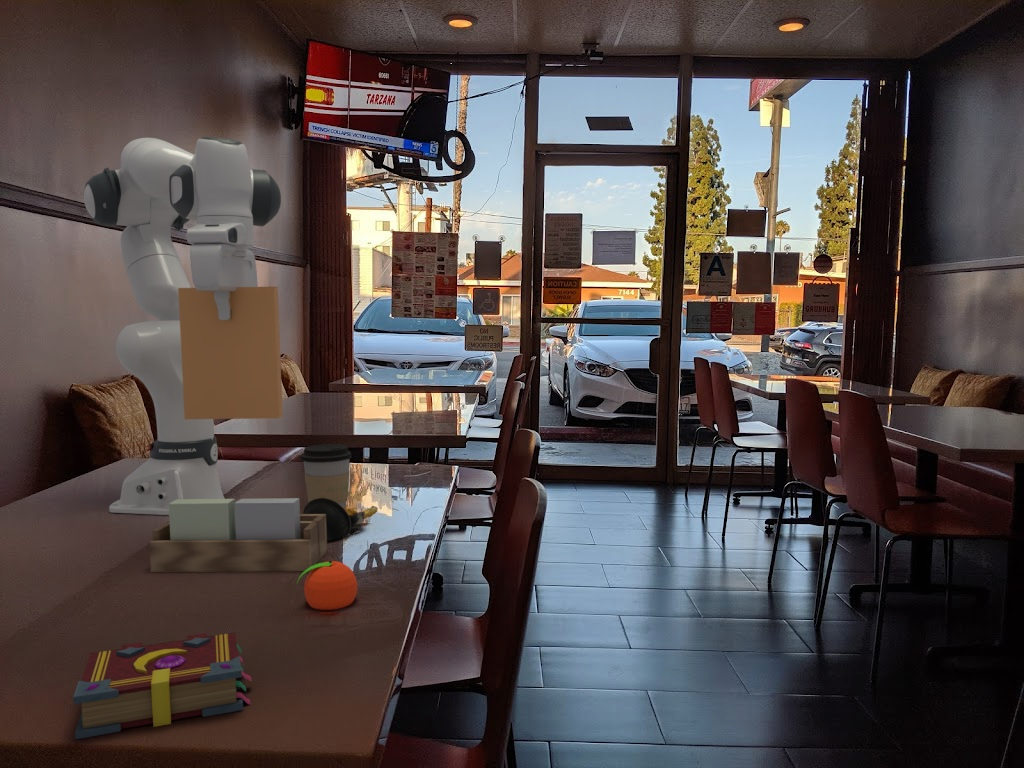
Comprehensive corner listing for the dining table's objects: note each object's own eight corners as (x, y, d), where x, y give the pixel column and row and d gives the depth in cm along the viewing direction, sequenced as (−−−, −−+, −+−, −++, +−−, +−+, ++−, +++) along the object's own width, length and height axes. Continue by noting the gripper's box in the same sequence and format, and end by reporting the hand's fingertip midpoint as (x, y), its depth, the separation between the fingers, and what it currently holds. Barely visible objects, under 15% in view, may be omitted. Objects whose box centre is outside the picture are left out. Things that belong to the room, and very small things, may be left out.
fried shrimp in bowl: (278, 525, 136) (323, 472, 152) (313, 576, 139) (354, 519, 155) (321, 508, 132) (362, 456, 148) (355, 562, 135) (393, 504, 151)
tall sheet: (184, 419, 136) (178, 287, 134) (189, 417, 138) (183, 288, 136) (279, 418, 136) (273, 286, 134) (282, 416, 138) (277, 286, 136)
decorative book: (90, 691, 87) (88, 646, 86) (249, 666, 92) (247, 623, 92) (75, 743, 76) (72, 692, 76) (255, 711, 82) (253, 663, 81)
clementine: (301, 627, 103) (299, 573, 102) (293, 609, 109) (291, 558, 109) (363, 617, 106) (362, 564, 105) (352, 600, 112) (350, 550, 112)
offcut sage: (171, 568, 123) (168, 503, 122) (180, 562, 126) (177, 499, 125) (230, 568, 123) (227, 503, 122) (237, 562, 126) (234, 498, 125)
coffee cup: (341, 533, 147) (339, 452, 146) (293, 531, 149) (290, 451, 148) (361, 520, 156) (359, 443, 155) (316, 518, 158) (313, 442, 157)
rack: (151, 581, 122) (148, 532, 121) (181, 560, 132) (179, 515, 132) (310, 580, 121) (308, 531, 121) (327, 559, 132) (325, 514, 131)
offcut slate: (237, 568, 123) (234, 503, 122) (244, 562, 126) (241, 498, 125) (296, 567, 123) (293, 502, 122) (301, 561, 126) (299, 498, 125)
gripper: (229, 242, 145) (233, 319, 146) (181, 230, 125) (185, 320, 126) (264, 241, 145) (267, 319, 146) (222, 230, 124) (225, 320, 126)
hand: (229, 319), depth 136 cm, fingers closed on tall sheet, 2 cm apart
